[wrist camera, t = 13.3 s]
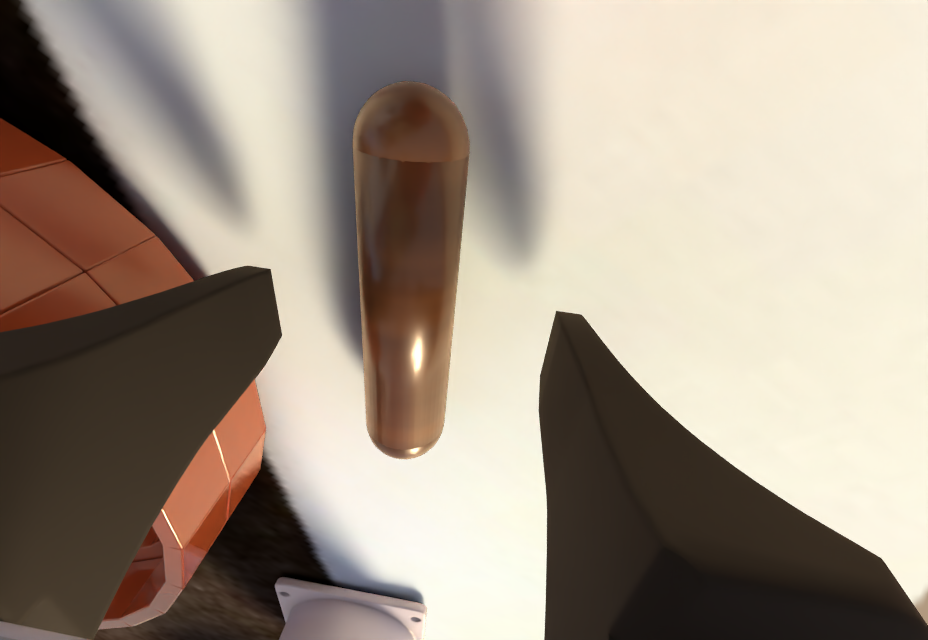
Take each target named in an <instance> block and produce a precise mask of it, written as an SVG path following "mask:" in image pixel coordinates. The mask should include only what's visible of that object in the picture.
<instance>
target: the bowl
mask: <svg viewBox="0 0 928 640" xmlns="http://www.w3.org/2000/svg"><path fill="white" fill-rule="evenodd" d="M193 281H194V280H193V279H192V277H191V276H190V275H189V274H188V273H187V271H186V270H185V269H184V268H183V267H182V265H181V264H180V263H179V262H178V260H177V259H176V258H175V257H174V256H173V254H172V253H171V252H170V251H169V250H168V248H167V247H166V246H165V245H164V244H163V242H162V241H161V240H160V239H159V238H158V237H157V236H155V234H154V233H153V232H152V231H151V230H150V229H148V228H147V227H146V226H145V225H144V224H143V223H142V222H140V221H139V220H138V219H137V218H136V217H135V216H133V215H132V214H131V213H130V212H129V211H128V210H126V209H125V208H124V207H123V206H122V205H121V204H120V203H118V202H117V201H116V200H115V199H114V198H113V197H111V196H110V195H109V194H108V193H107V192H106V191H104V190H103V189H102V188H101V187H100V186H99V185H98V184H96V183H95V182H94V181H93V180H92V179H91V178H89V177H88V176H87V175H86V174H85V173H84V172H82V171H81V170H80V169H79V168H78V167H77V166H76V165H74V164H73V163H72V162H71V161H69V160H67V159H66V158H65V157H63V156H62V155H60V154H59V153H57V152H55V151H54V150H52V149H50V148H49V147H47V146H46V145H44V144H42V143H41V142H39V141H38V140H36V139H34V138H33V137H31V136H29V135H28V134H26V133H25V132H23V131H21V130H20V129H18V128H16V127H15V126H13V125H12V124H10V123H8V122H7V121H5V120H4V119H2V118H0V332H4V331H10V330H15V329H21V328H26V327H32V326H37V325H41V324H46V323H50V322H55V321H59V320H63V319H68V318H72V317H76V316H80V315H84V314H88V313H92V312H96V311H99V310H103V309H107V308H110V307H114V306H117V305H120V304H123V303H127V302H130V301H133V300H137V299H140V298H143V297H147V296H150V295H153V294H156V293H160V292H163V291H166V290H169V289H172V288H175V287H178V286H181V285H184V284H187V283H190V282H193ZM265 432H266V425H265V421H264V416H263V412H262V408H261V404H260V399H259V395H258V391H257V386H256V382H255V379H254V380H253V382H252V383H251V384H250V386H249V387H248V388H247V389H246V391H245V392H244V393H243V394H242V396H241V397H240V398H239V399H238V401H237V402H236V403H235V404H234V405H233V407H232V408H231V409H230V410H229V412H228V413H227V414H226V415H225V417H224V418H223V419H222V420H221V422H220V423H219V424H218V425H217V427H216V428H215V429H214V430H213V432H212V433H211V434H210V435H209V437H208V438H207V439H206V441H205V442H204V444H203V445H202V446H201V448H200V449H199V450H198V452H197V453H196V455H195V457H194V458H193V460H192V461H191V463H190V464H189V466H188V467H187V469H186V471H185V472H184V474H183V475H182V477H181V478H180V480H179V482H178V483H177V485H176V486H175V488H174V490H173V491H172V493H171V495H170V496H169V498H168V500H167V501H166V503H165V505H164V506H163V508H162V510H161V511H160V513H159V515H158V516H157V518H156V520H155V522H154V523H153V525H152V527H151V528H150V530H149V532H148V534H147V536H146V538H145V539H144V541H143V543H142V545H141V547H140V549H139V550H138V552H137V554H136V556H135V558H134V560H133V561H132V563H131V565H130V567H129V569H128V571H127V572H126V574H125V576H124V578H123V580H122V582H121V584H120V586H119V588H118V590H117V592H116V594H115V596H114V598H113V600H112V602H111V604H110V606H109V608H108V610H107V612H106V614H105V616H104V618H103V620H102V622H101V624H100V626H99V628H98V629H109V628H120V627H132V626H135V625H138V624H140V623H143V622H145V621H148V620H150V619H153V618H155V617H157V616H160V615H162V614H165V613H166V612H167V611H168V610H169V608H170V607H171V606H172V604H173V603H174V601H175V600H176V599H177V597H178V596H179V595H180V593H181V592H182V591H183V589H184V588H185V586H186V585H187V583H188V582H189V580H190V578H191V577H192V575H193V574H194V572H195V571H196V569H197V568H198V566H199V564H200V563H201V561H202V560H203V558H204V557H205V555H206V553H207V552H208V550H209V549H210V547H211V546H212V544H213V542H214V541H215V539H216V538H217V536H218V535H219V533H220V532H221V530H222V528H223V527H224V525H225V524H226V522H227V520H228V519H229V517H230V516H231V514H232V513H233V511H234V510H235V508H236V506H237V505H238V503H239V502H240V500H241V499H242V497H243V495H244V494H245V492H246V491H247V489H248V488H249V486H250V485H251V483H252V481H253V480H254V478H255V477H256V475H257V474H258V472H259V470H260V466H261V459H262V453H263V446H264V439H265Z"/></svg>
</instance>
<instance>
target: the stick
mask: <svg viewBox="0 0 928 640" xmlns="http://www.w3.org/2000/svg"><path fill="white" fill-rule="evenodd" d="M469 154H470V141H469V135H468V130H467V127H466V124H465V122H464V119H463V117H462V115H461V113H460V111H459V110H458V108H457V107H456V105H455V104H454V103H453V102H452V101H451V100H450V99H449V98H448V97H447V96H446V95H445V94H443V93H442V92H441V91H439V90H438V89H436V88H434V87H432V86H429V85H427V84H425V83H420V82H412V81H402V82H398V83H393V84H390V85H388V86H386V87H384V88H382V89H380V90H378V91H377V92H376V93H375V94H373V95H372V96H371V97H370V98H369V99H368V100H367V102H366V103H365V104H364V105H363V107H362V108H361V110H360V112H359V114H358V116H357V118H356V122H355V126H354V130H353V164H354V184H355V204H356V224H357V244H358V264H359V285H360V305H361V325H362V345H363V365H364V385H365V406H366V425H367V430H368V433H369V436H370V438H371V440H372V442H373V443H374V445H375V446H376V447H377V448H378V449H379V450H380V451H382V452H383V453H384V454H386V455H388V456H390V457H393V458H398V459H411V458H415V457H418V456H421V455H423V454H425V453H426V452H427V451H429V450H430V449H431V448H432V447H433V446H434V445H435V444H436V443H437V441H438V439H439V438H440V436H441V434H442V430H443V426H444V420H445V410H446V399H447V388H448V377H449V367H450V356H451V345H452V335H453V324H454V313H455V303H456V292H457V281H458V271H459V260H460V249H461V239H462V228H463V217H464V207H465V196H466V185H467V175H468V164H469Z"/></svg>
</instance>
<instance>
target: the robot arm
mask: <svg viewBox="0 0 928 640" xmlns="http://www.w3.org/2000/svg"><path fill="white" fill-rule="evenodd" d="M281 336H282V333H281V327H280V321H279V315H278V310H277V304H276V298H275V292H274V287H273V281H272V275H271V269H266V268H259V267H253V266H244V267H239V268H235V269H231V270H227V271H224V272H221V273H217V274H214V275H211V276H208V277H205V278H202V279H199V280H196V281H193V282H190V283H187V284H184V285H181V286H178V287H175V288H172V289H169V290H166V291H163V292H160V293H156V294H153V295H150V296H147V297H143V298H140V299H137V300H133V301H130V302H127V303H123V304H120V305H117V306H114V307H110V308H107V309H103V310H99V311H96V312H92V313H88V314H84V315H80V316H76V317H72V318H68V319H63V320H59V321H55V322H50V323H46V324H41V325H37V326H32V327H26V328H21V329H15V330H10V331H4V332H0V640H93V639H94V637H95V635H96V633H97V631H98V628H99V626H100V624H101V622H102V620H103V618H104V616H105V614H106V612H107V610H108V608H109V606H110V604H111V602H112V600H113V598H114V596H115V594H116V592H117V590H118V588H119V586H120V584H121V582H122V580H123V578H124V576H125V574H126V572H127V571H128V569H129V567H130V565H131V563H132V561H133V560H134V558H135V556H136V554H137V552H138V550H139V549H140V547H141V545H142V543H143V541H144V539H145V538H146V536H147V534H148V532H149V530H150V528H151V527H152V525H153V523H154V522H155V520H156V518H157V516H158V515H159V513H160V511H161V510H162V508H163V506H164V505H165V503H166V501H167V500H168V498H169V496H170V495H171V493H172V491H173V490H174V488H175V486H176V485H177V483H178V482H179V480H180V478H181V477H182V475H183V474H184V472H185V471H186V469H187V467H188V466H189V464H190V463H191V461H192V460H193V458H194V457H195V455H196V453H197V452H198V450H199V449H200V448H201V446H202V445H203V444H204V442H205V441H206V439H207V438H208V437H209V435H210V434H211V433H212V432H213V430H214V429H215V428H216V427H217V425H218V424H219V423H220V422H221V420H222V419H223V418H224V417H225V415H226V414H227V413H228V412H229V410H230V409H231V408H232V407H233V405H234V404H235V403H236V402H237V401H238V399H239V398H240V397H241V396H242V394H243V393H244V392H245V391H246V389H247V388H248V387H249V386H250V384H251V383H252V382H253V380H254V379H255V378H256V377H257V375H258V374H259V373H260V371H261V370H262V369H263V367H264V366H265V364H266V363H267V361H268V360H269V358H270V356H271V355H272V353H273V351H274V349H275V347H276V346H277V344H278V342H279V340H280V338H281ZM539 418H540V429H541V441H542V451H543V462H544V472H545V483H546V495H547V572H546V612H545V640H928V625H927V624H926V623H925V621H924V620H923V618H922V617H921V615H920V614H919V612H918V611H917V609H916V608H915V606H914V605H913V603H912V602H911V600H910V599H909V597H908V596H907V595H906V593H905V592H904V590H903V589H902V587H901V586H900V584H899V583H898V581H897V580H896V579H895V577H894V576H893V574H892V573H891V571H890V570H889V568H888V567H887V565H886V564H885V563H884V561H883V560H882V559H881V558H880V557H878V556H876V555H875V554H873V553H871V552H870V551H868V550H866V549H864V548H863V547H861V546H859V545H858V544H856V543H854V542H853V541H851V540H849V539H847V538H846V537H844V536H842V535H841V534H839V533H837V532H835V531H834V530H832V529H830V528H829V527H827V526H825V525H824V524H822V523H820V522H818V521H817V520H815V519H813V518H812V517H810V516H808V515H806V514H805V513H803V512H801V511H800V510H798V509H797V508H795V507H794V506H792V505H790V504H789V503H787V502H786V501H784V500H783V499H781V498H780V497H778V496H777V495H775V494H774V493H772V492H771V491H769V490H768V489H766V488H765V487H763V486H762V485H760V484H759V483H757V482H756V481H754V480H753V479H751V478H750V477H748V476H747V475H746V474H744V473H743V472H741V471H740V470H739V469H737V468H736V467H734V466H733V465H732V464H730V463H729V462H728V461H726V460H725V459H724V458H722V457H721V456H720V455H718V454H717V453H716V452H714V451H713V450H712V449H711V448H709V447H708V446H707V445H705V444H704V443H703V442H701V441H700V440H699V439H698V438H697V437H695V436H694V435H693V434H692V433H690V432H689V431H688V430H687V429H686V428H685V427H683V426H682V425H681V424H680V423H679V422H678V421H677V420H676V419H674V418H673V417H672V416H671V415H670V414H669V413H668V412H667V411H665V410H664V409H663V408H662V407H661V406H660V405H659V404H658V403H657V402H656V401H655V400H654V399H653V398H652V397H651V396H650V395H649V394H648V393H647V392H646V391H645V390H644V389H643V388H642V387H641V386H640V385H639V384H638V383H637V382H636V380H635V379H634V378H633V377H632V376H631V375H630V374H629V373H628V372H627V371H626V369H625V368H624V367H623V366H622V365H621V364H620V362H619V361H618V360H617V359H616V358H615V356H614V355H613V354H612V353H611V352H610V350H609V349H608V348H607V347H606V345H605V344H604V343H603V342H602V340H601V339H600V338H599V336H598V335H597V334H596V333H595V331H594V330H593V329H592V327H591V326H590V325H589V323H588V322H587V321H586V319H585V318H584V317H583V316H582V315H580V314H573V313H566V312H559V311H556V314H555V318H554V322H553V326H552V330H551V334H550V338H549V342H548V346H547V350H546V354H545V359H544V363H543V367H542V371H541V375H540V392H539ZM275 589H276V593H277V596H278V599H279V602H280V606H281V609H282V612H283V615H284V619H285V622H286V624H285V627H284V629H283V631H282V634H281V636H280V639H279V640H424V634H425V624H426V614H427V608H426V606H425V605H423V604H421V603H418V602H413V601H408V600H402V599H397V598H392V597H387V596H381V595H376V594H371V593H366V592H360V591H355V590H350V589H345V588H339V587H334V586H329V585H324V584H318V583H313V582H308V581H303V580H297V579H292V578H287V577H280V578H279V579H278V580H277V582H276V584H275Z"/></svg>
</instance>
